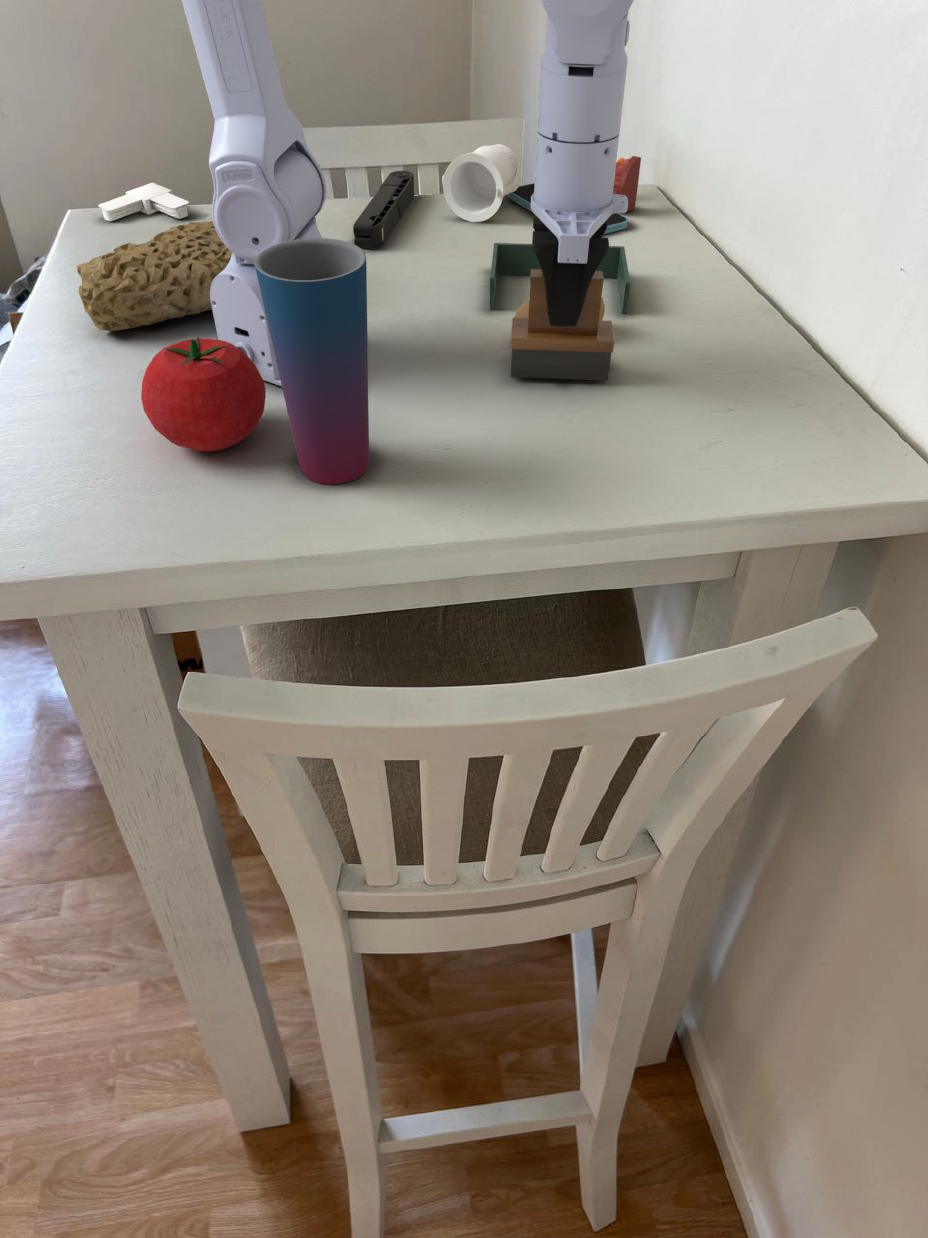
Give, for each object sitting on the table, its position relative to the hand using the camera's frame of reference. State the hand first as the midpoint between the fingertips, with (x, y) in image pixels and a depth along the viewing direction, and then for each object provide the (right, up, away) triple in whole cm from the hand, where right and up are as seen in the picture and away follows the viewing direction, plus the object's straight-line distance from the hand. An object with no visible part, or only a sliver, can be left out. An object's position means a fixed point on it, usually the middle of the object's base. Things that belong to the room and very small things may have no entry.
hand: (562, 318), depth 71 cm
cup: (-17, -13, -6) cm, 23 cm away
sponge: (-33, +6, +14) cm, 36 cm away
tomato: (-27, -11, -4) cm, 29 cm away
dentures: (+6, +29, +33) cm, 44 cm away
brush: (0, -3, +3) cm, 4 cm away
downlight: (-7, +23, +26) cm, 35 cm away
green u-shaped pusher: (+1, +9, +16) cm, 18 cm away
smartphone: (+8, +18, +26) cm, 32 cm away
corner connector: (-44, +23, +29) cm, 57 cm away
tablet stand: (-18, +22, +28) cm, 41 cm away
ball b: (-2, +2, +6) cm, 6 cm away
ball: (+3, +3, +8) cm, 9 cm away
